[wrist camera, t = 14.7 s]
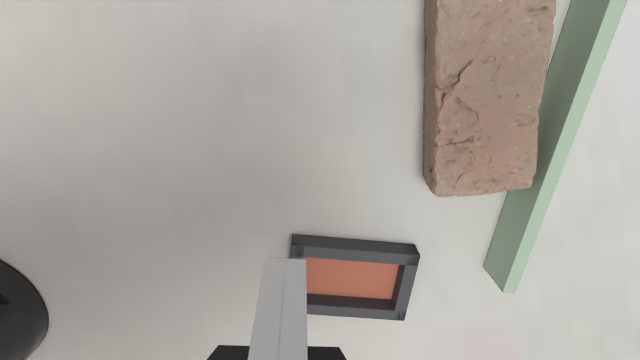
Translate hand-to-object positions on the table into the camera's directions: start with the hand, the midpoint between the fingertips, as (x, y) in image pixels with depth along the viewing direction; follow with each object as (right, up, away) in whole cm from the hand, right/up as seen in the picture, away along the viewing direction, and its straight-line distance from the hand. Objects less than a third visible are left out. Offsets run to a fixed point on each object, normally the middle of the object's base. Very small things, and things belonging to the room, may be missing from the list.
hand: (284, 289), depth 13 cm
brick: (+14, +12, +17) cm, 25 cm away
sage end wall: (+21, +8, +18) cm, 29 cm away
